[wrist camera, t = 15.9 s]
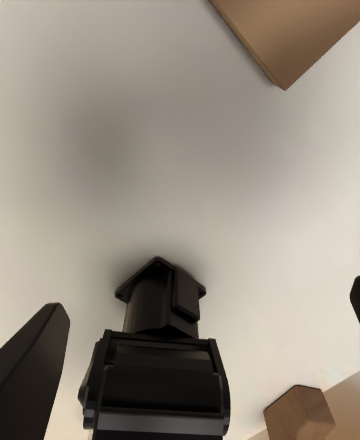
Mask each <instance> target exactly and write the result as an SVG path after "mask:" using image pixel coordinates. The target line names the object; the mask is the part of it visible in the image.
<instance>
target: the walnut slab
mask: <svg viewBox="0 0 360 440" xmlns="http://www.w3.org/2000/svg"><path fill="white" fill-rule="evenodd" d="M209 1H210V3H211V4H212V5H213V6H214V8H215V9H216V10H217V12H218V13H219V14H220V15H221V17H222V18H223V19H224V21H225V22H226V23H227V24H228V26H229V27H230V28H231V30H232V31H233V32H234V33H235V35H236V36H237V37H238V38H239V40H240V41H241V42H242V44H243V45H244V46H245V47H246V49H247V50H248V51H249V53H250V54H251V55H252V56H253V58H254V59H255V60H256V62H257V63H258V64H259V65H260V67H261V68H262V69H263V71H264V72H265V73H266V74H267V76H268V77H269V78H270V79H271V81H272V82H273V83H274V85H276V86H278V87H279V88H281V89H283V90H285V91H286V90H287V89H288V88H289V87H290V86H291V85H292V84H293V83H294V82H295V81H296V80H297V79H298V78H299V77H300V76H302V75H303V74H304V73H305V72H306V71H307V70H308V69H309V68H310V67H311V66H312V65H313V64H314V63H315V62H316V61H317V60H319V59H320V58H321V57H322V56H323V55H324V54H325V53H326V52H327V51H328V50H329V49H330V48H331V47H332V46H333V45H335V44H336V43H337V42H338V41H339V40H340V39H341V38H342V37H343V36H344V35H345V34H346V33H347V32H348V31H349V30H351V29H352V28H353V27H354V26H355V25H356V24H357V23H358V22H359V21H360V0H209Z"/></svg>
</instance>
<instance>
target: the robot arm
mask: <svg viewBox="0 0 360 440" xmlns="http://www.w3.org/2000/svg"><path fill="white" fill-rule="evenodd" d="M157 263H159V264H157ZM201 291H202V292H201ZM205 295H206V289H205V288H204V287H203V286H201V285H200V284H199V283H197V282H196V281H195V280H193V279H192V278H190V277H189V276H187V275H186V274H184V273H183V272H182V271H180V270H178V269H176V268H175V267H173V266H172V265H170V264H169V263H167V262H166V261H164V260H163V259H161V258H158V257H157V258H154V259H153V260H152V261H150V262H149V263H148V264H147V265H146V266H144V267H143V268H142V269H141V270H140V271H138V272H137V273H136V274H135V275H134V276H133V277H131V278H130V279H129V280H128V281H127V282H125V283H124V284H123V285H122V286H121V287H119V288H118V289H117V290H116V292H115V297H116V298H117V299H119V300H121V301H123V302H125V303H126V304H127V308H126V314H125V320H124V326H123V332H117V331H112V330H109V329H105V331H104V335H103V338H100V341H98V342H96V343H95V347H94V351H93V355H92V359H91V362H90V365H89V368H88V370H87V372H86V375H85V377H84V379H83V382H82V384H81V386H80V389H79V393H78V400H79V401H80V403H81V404H82V406H83V415H84V421H83V429H91V430H93V435H92V440H223V436H225V435H226V433H227V431H228V428H229V422H230V410H231V407H230V391H229V385H228V380H227V377H226V374H225V370H224V367H223V363H222V360H221V357H220V353H219V350H218V347H217V343H216V340H215V339H211V338H208V339H199V335H198V323H197V321H199V320H200V310H199V299H200V298H202V297H203V296H205ZM350 301H351V304H352V306H353V309H354V311H355V313H356V316H357V318H358V321H359V323H360V276H357V277H356V278H355V280H354V283H353V286H352V289H351V292H350ZM69 328H70V319H69V317H68V315H67V313H66V311H65V309H64V307H63V306H62V304H61V303H58V302H57V303H48V304H46V305H44V306H43V307H42V308H41V309H40V310H39V311H38V312H37V313H36V314H35V315H34V316H33V317H32V318H31V319H30V320H29V321H28V322H27V323H26V324H25V325H24V326H23V327H22V328H21V329H20V330H19V331H18V332H17V333H16V334H15V335H14V336H13V337H12V338H11V339H10V340H9V341H8V342H6V343H5V344H4V345H3V346H2V347H1V348H0V440H44V436H45V432H46V429H47V425H48V422H49V418H50V414H51V411H52V407H53V404H54V400H55V396H56V393H57V389H58V386H59V382H60V378H61V374H62V369H63V363H64V358H65V352H66V346H67V340H68V334H69Z"/></svg>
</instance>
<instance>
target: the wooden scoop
mask: <svg viewBox="0 0 360 440" xmlns="http://www.w3.org/2000/svg"><path fill="white" fill-rule="evenodd" d="M264 417H265V421H266V426H267V430H268V434H269V439H270V440H325V437H326V436H327V435H328V434H329V433H330V432H331V431H332V430H333V428H335V422H334V419H333V417H332V414H331V412H330V409H329V407H328V404H327V402H326V400H325V397H324V395H323V392H322V391H321V390H318V389H313V388H308V387H303V386H295V387H293V388H292V389H291V390H290V391H288V392H287V393H286V394H285V395H283V396H282V397H281V398H280V399H278V400H277V401H276V402H275V403H273V404H272V405H271V406H270V407H268V408H267V409H266V410H265V411H264Z"/></svg>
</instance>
